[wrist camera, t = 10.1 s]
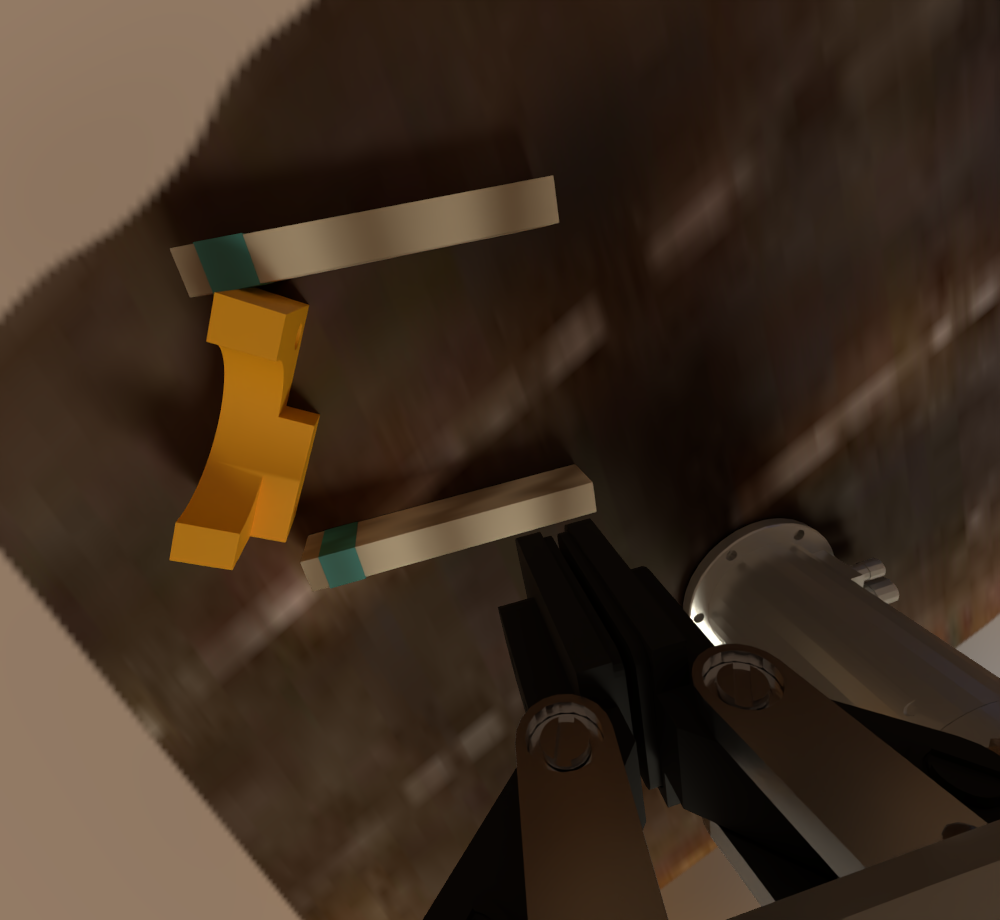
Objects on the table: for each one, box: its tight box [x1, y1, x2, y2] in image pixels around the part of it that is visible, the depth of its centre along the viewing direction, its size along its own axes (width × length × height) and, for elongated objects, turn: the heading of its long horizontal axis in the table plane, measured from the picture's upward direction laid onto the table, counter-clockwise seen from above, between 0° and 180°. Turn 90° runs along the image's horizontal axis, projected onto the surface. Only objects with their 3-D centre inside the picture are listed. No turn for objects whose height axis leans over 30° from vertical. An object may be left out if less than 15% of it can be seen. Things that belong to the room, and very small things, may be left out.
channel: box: [170, 176, 596, 592], centre depth 27 cm, size 17×18×3 cm
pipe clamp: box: [170, 288, 320, 570], centre depth 24 cm, size 12×4×6 cm, turn 161°
